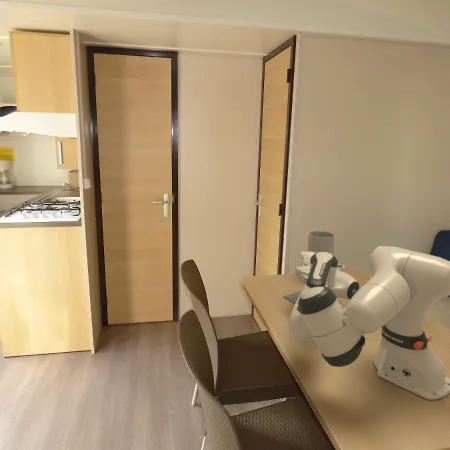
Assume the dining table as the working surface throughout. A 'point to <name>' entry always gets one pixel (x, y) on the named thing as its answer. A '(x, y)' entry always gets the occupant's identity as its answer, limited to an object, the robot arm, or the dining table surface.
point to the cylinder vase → (321, 241)
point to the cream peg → (306, 259)
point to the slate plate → (294, 297)
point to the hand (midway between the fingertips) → (308, 264)
